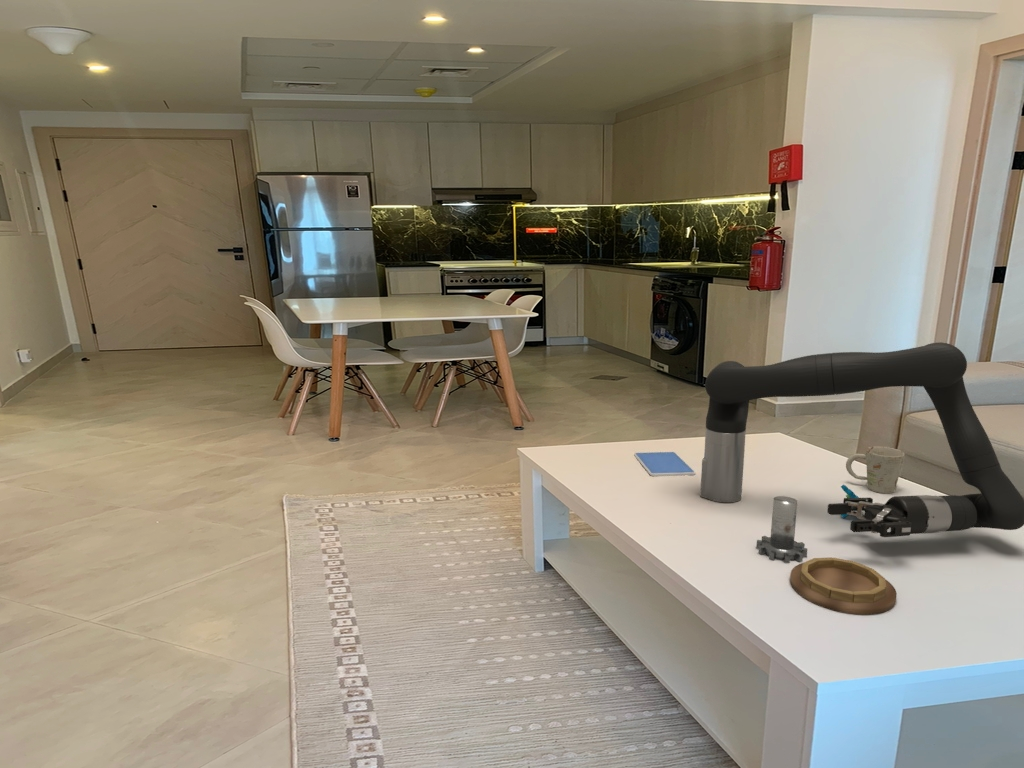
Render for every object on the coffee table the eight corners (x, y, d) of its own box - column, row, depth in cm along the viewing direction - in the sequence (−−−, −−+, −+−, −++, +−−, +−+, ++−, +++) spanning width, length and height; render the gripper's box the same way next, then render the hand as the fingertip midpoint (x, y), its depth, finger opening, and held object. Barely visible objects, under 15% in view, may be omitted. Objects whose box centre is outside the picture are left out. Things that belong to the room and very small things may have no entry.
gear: (887, 522, 143) (853, 487, 144) (865, 539, 144) (832, 505, 145) (870, 509, 154) (839, 477, 155) (849, 525, 155) (819, 494, 156)
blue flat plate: (633, 456, 196) (633, 452, 196) (674, 455, 197) (675, 450, 197) (650, 478, 177) (650, 473, 177) (696, 477, 178) (696, 472, 178)
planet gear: (753, 556, 131) (757, 504, 129) (759, 538, 139) (762, 489, 137) (805, 566, 127) (810, 512, 125) (808, 547, 135) (812, 496, 133)
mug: (899, 497, 161) (903, 458, 159) (842, 488, 167) (845, 450, 165) (900, 487, 168) (905, 449, 166) (845, 478, 174) (849, 442, 172)
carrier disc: (786, 600, 115) (787, 586, 114) (793, 559, 130) (794, 546, 129) (898, 624, 107) (900, 609, 107) (893, 578, 122) (894, 564, 122)
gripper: (897, 484, 139) (822, 487, 138) (944, 510, 125) (861, 513, 124) (894, 517, 141) (819, 521, 140) (940, 547, 127) (858, 550, 126)
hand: (839, 517), depth 132 cm, fingers open, 8 cm apart
